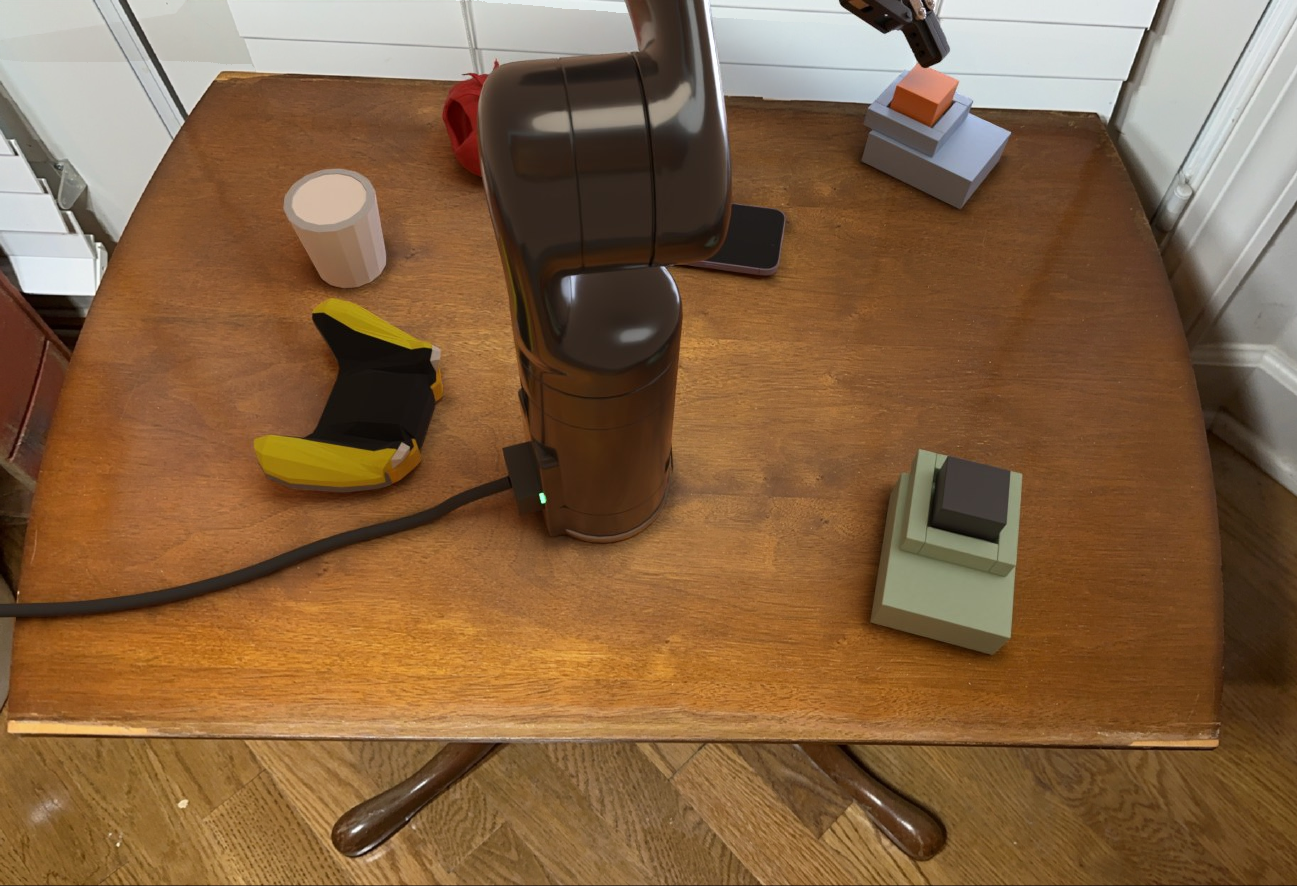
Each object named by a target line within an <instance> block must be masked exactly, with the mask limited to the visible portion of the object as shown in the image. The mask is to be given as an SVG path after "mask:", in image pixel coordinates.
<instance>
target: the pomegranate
mask: <svg viewBox="0 0 1297 886" xmlns="http://www.w3.org/2000/svg"><path fill="white" fill-rule="evenodd" d="M498 66H500V63H499V61H498V60H497V58H495V60H494V62H493V68H492V71H493V70H494V69H495V68H496V67H498ZM489 74H490V73H482V74H479V73H475V72H467V73H461V75H462V76H471V78H468V79H464V80H460V81H458V82H457V83H455V84H454V85H453V86H451V88H450V89H449V91H448V94H447V97H446V98H445V100H444V104H443V108H442V114H441V118H442V121H443V124H444V125H445V129H446V131H447V134H448V136H449V140H450V142H451V147H452V152H453V154H454V157H455V159H456V161H457V162H458V163H459V165H461V166H462V167H463V168H464V169H465V170H466V171H468V172H469V173H471V174H473V175H475V176H477V177H481V178H482V175H481V169H480V162H479V153H478V144H477V110H478V102H479V97H480V94H481V91H482V88H483V84H484V82H485V81H486V79H487V77H488V76H489Z"/></svg>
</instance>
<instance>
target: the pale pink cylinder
mask: <svg viewBox="0 0 1297 886" xmlns="http://www.w3.org/2000/svg"><path fill="white" fill-rule="evenodd" d="M376 194H377V193H376V190H375V188H374V186H373V184H372V183H371V181H370V180H369V178H367V177H366V176H364V175H363V174H361V173H359V172H358V171H354V170H350V169H345V168H341V167H339V168H326V169H325V168H324V169H320V170H318V171H315V172H314V171H313V172H311V173H308V174H305V176H303V177H301V178H300V179H298V180H297V181H295V182H294V183H293V184H292V185H291V186H290V188H289V190H288V191H287V192H286V194H285V195H284V199H283V207H282V208H283V211H284V213H285V215H286V218H287V219H288V221H289V223H290V225H291V227H292V228H293V230H294V233H295V234H296V236H297V237H298V238H299V241H300V243H301V244H302V246H303V248H304V250H305V252H306V254H307V255H308V257H309V259H310V261H311V262H312V264H313V266H314V267H315V270H316V272H317V273H318V275H319V276H320V277H319V278H321V279H322V281H324V282H325V283H327V284H328V285H330V286H333V287H335V288H336V287H337V288H341V289H352V288H359V287H362V286H365V285H367V284H369V283H371V282H373V281H374V280H376V279H377V278H378V277H379V276H380V275H381V274H382V273H383V271H384V269H385V267H386V265H387V251H386V246H385V240H384V234H383V228H382V223H381V217H380V212H379V211H380V210H379V206H378V200H377V199H378V198H377V195H376Z"/></svg>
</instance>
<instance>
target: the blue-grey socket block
mask: <svg viewBox="0 0 1297 886" xmlns="http://www.w3.org/2000/svg"><path fill="white" fill-rule="evenodd" d="M910 71H911V70H907V69H904V70H902V72H901V73H900V74H898V76H897V77H896V78H895V79H894V80H893V81H892V82H891V83H890V84H889V85H888V86H887V87H886V88H885V90H884V91H882V92H881V94H880V95H879V96H878V97H877V98H876V99H875V100H874V101H873V102H872V103H871V104H870V105H868V107H867V109H866V113H865V116H864V119H863V123H862V125H863V126H865V127H867V128H869V129H871V130H870V131H869V133H868V136H867V140H866V143H865V147H864V150H863V154H862V157H861V162H862V163H864V164H866V165H869V166H870V167H871V168H874V169H877V170H878V171H881V172H883V173H885V174H887V175H889V176H891V177H893V178H895V179H896V180H899V181H901V182H903V183H905V184H907V185H909V186H911V187H913V188H915V189H917V190H919V191H921V192H923V193H925V194H927V195H929V196H932V197H934V198H936V199H937V200H940V201H942V202H943V203H946V204H948V205H950V206H952V207H954V208H957V210H961V209H962V208H963V207H964V205H966V203H967V201H969V199H970V198H971V197H972V195H973V194H974V193H975V192H976V190H977V189H978V188H979V186H980V185H981V184H982V183H983V181H984V180H985V179H986V178H987V177H988V176H989V174H990V173H991V171H992V170H993V169H994V168H995V166H996V165H997V164H998V163H999V162H1000V160H1001V158H1002V155H1003V153H1004V151H1005V149H1006V146H1007V144H1008V142H1009V140H1010V137H1011V134H1012V132H1011V131H1010V130H1008V129H1005V128H1003V127H1001V126H998V125H996V124H994V123H992V122H989V121H987V120H985V119H983V118H981V117H979V116H976V115H974V114H972V113H970V111H971V108H972V106H973V104H974V99H973V98H970V97H968V96H966V95H963V94H961V93H959V92H957V91H955V94H954V97H953V100H952V102H951V105H950V106H949V107H948V109H947V110H946V111H945V112H944V113H943V114H942V115H941V117H940V118H939V119H938V120H937V121H936V122H935V123H934V125H933V126H932V127H928V126H926V125H924V124H922V123H920V122H918V121H915V120H913V119H911V118H909V117H907V116H905V115H902V114H900V113H898V112H896V111H894V110H892V109H890V106H891V102H892V99H893V96H894V92H895V89H896V86H897V84H898V83H899V82H900V81H901V80H902V79H903V78H904V77H905V76H906V75H907V74H908V73H909V72H910Z"/></svg>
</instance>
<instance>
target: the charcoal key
mask: <svg viewBox="0 0 1297 886" xmlns="http://www.w3.org/2000/svg"><path fill="white" fill-rule="evenodd" d="M946 456H947V458H946V460H945V462H944V463H943V465H942V467H941V468H940V470H939V472H938V473H937V475H936V483H935V491H934V499H933V507H932V515H931V523H930V526H931V527H934V528H938V529H942V530H946V531H950V532H954V533H958V534H962V535H966V536H970V537H974V538H978V539H982V540H986V541H990V542H993V541H994V540H995V538H996V537H997V536H998V534H999V533H1000V532H1001V531H1002V529H1003V528H1004V527H1005V526H1006V524H1007V514H1008V501H1009V488H1010V475H1011V471H1012V470H1010V469H1006V468H1002V467H998V466H994V465H990V464H986V463H982V462H977V461H973V460H970V459H965V458H960V457H957V456H952V455H946Z"/></svg>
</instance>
